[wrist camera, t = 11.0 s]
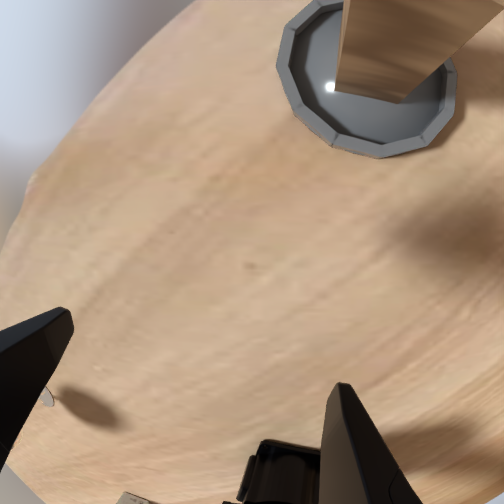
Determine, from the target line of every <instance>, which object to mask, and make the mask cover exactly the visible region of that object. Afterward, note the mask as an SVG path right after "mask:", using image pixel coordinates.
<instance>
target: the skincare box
mask: <svg viewBox="0 0 504 504" xmlns="http://www.w3.org/2000/svg"><path fill="white" fill-rule="evenodd" d="M116 504H149V501H147V500H144V499H141V498H139V497H136V496H134V495H131V494H129V493H126V492H123V494H122V495H121V497H120V498H119V500H118V502H117V503H116Z"/></svg>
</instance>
